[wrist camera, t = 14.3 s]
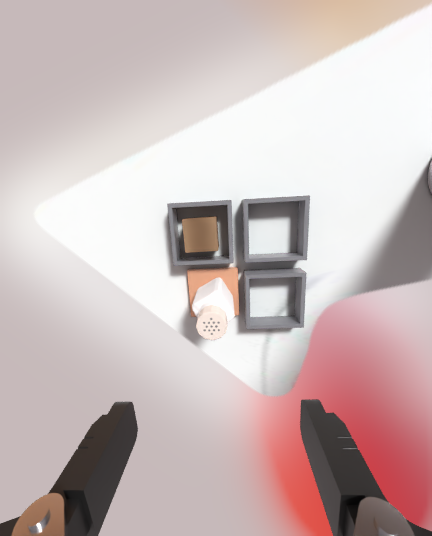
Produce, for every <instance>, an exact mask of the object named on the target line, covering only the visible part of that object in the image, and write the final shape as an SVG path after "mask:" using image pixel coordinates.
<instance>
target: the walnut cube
mask: <svg viewBox="0 0 432 536" xmlns="http://www.w3.org/2000/svg"><path fill="white" fill-rule="evenodd" d="M182 226H183V235H184V244H185V253H190V252H206V251H218V248H219V241H218V226H217V216H213V217H199V218H187V219H182Z"/></svg>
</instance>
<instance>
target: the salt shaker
mask: <svg viewBox="0 0 432 536" xmlns="http://www.w3.org/2000/svg"><path fill="white" fill-rule="evenodd" d="M192 310H193V312H194V313H195V315H196V317H197V318H198V319H197V323H196V328H197V331H198V334H200V335H201V336H202V337H203V338H204V339H209V340H215V339H219V338H221V337H222V336H223V335H224V334H225V333H226V329H227V322H229V321H230V320H232V319H233V317H234V316H235V313H234V303H233V295H232V294H231V292H230V291H229V289H228V288H227V286H226V285H225V283H224V281H223V280H222V279H221V278H220V277H219V278H215V279H213V280H212V281H210V282H208V283H206V284H205V285H203V286H201V287H200V288H199V289H198V290H197V292H196V295H195V298H194V301H193V304H192Z"/></svg>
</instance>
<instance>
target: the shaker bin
mask: <svg viewBox="0 0 432 536" xmlns="http://www.w3.org/2000/svg"><path fill="white" fill-rule="evenodd" d="M281 277H296V293H295V316H278V317H250V286H249V279H256V278H281ZM305 289H306V272H305V271H303V270H302V269H301V268H287V269H263V270H244V296H245V323H246V328H247V329H267V328H302V327H304V310H305Z"/></svg>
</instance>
